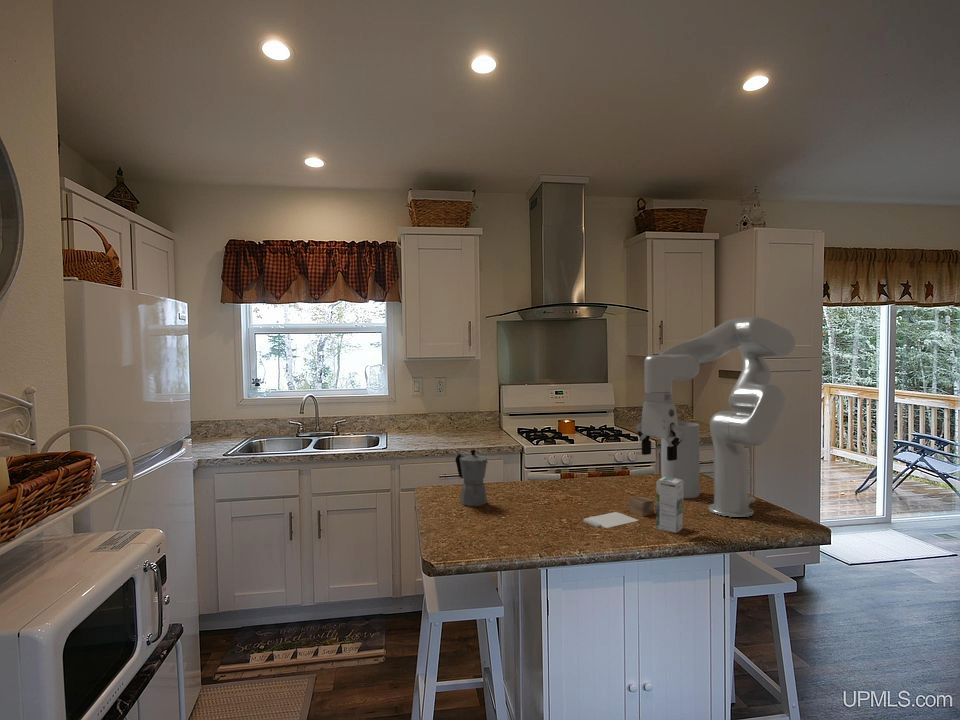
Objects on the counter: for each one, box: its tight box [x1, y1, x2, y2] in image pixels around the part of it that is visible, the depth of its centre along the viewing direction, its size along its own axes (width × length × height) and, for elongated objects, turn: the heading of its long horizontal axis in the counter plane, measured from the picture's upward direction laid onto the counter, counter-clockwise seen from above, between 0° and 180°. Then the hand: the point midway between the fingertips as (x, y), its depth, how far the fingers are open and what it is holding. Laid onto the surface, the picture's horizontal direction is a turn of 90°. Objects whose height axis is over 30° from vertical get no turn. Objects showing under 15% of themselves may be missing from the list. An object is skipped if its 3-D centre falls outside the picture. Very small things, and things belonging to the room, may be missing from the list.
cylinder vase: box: [660, 421, 701, 500], centre depth 178 cm, size 12×12×25 cm
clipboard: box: [582, 511, 640, 529], centre depth 148 cm, size 16×12×1 cm
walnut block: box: [629, 496, 655, 517], centre depth 154 cm, size 5×5×5 cm
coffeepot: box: [455, 448, 489, 507], centre depth 171 cm, size 15×9×18 cm, turn 44°
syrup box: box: [655, 477, 684, 534], centre depth 140 cm, size 6×6×14 cm
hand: (658, 457), depth 145 cm, fingers open, 9 cm apart
